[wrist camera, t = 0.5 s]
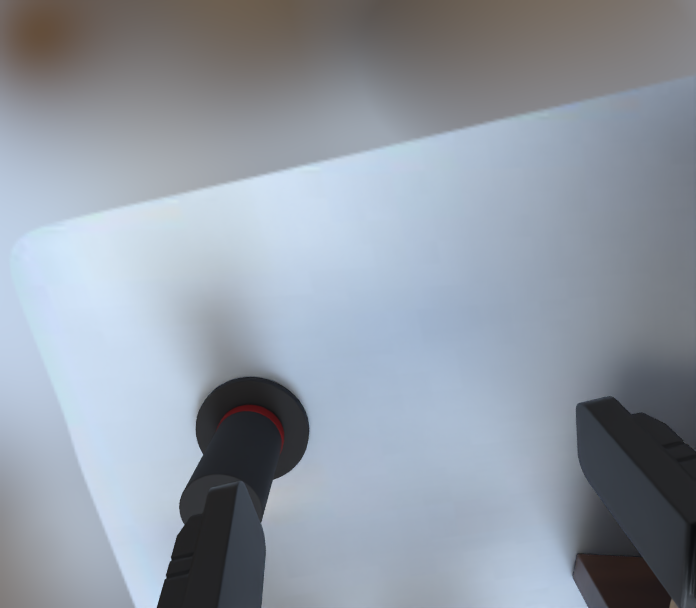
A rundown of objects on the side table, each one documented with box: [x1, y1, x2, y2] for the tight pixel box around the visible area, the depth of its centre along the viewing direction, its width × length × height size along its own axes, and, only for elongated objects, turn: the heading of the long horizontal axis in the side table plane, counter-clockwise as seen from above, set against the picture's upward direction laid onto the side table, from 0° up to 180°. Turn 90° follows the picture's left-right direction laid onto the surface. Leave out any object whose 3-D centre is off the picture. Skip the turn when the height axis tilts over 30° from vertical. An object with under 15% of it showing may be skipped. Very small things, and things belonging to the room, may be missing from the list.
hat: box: [179, 377, 309, 525], centre depth 28 cm, size 7×7×8 cm
